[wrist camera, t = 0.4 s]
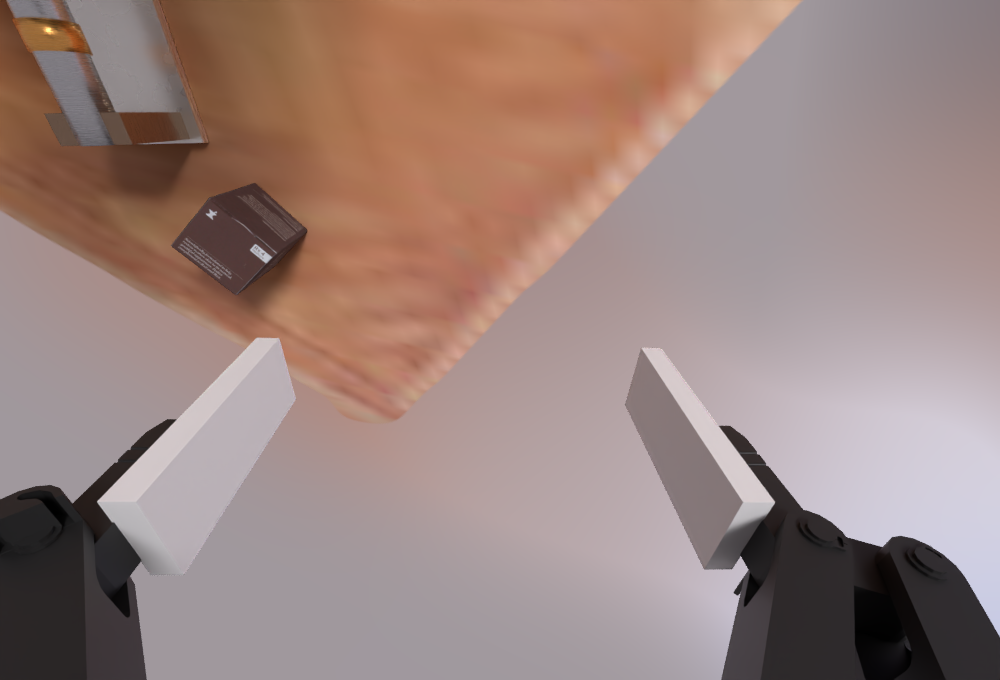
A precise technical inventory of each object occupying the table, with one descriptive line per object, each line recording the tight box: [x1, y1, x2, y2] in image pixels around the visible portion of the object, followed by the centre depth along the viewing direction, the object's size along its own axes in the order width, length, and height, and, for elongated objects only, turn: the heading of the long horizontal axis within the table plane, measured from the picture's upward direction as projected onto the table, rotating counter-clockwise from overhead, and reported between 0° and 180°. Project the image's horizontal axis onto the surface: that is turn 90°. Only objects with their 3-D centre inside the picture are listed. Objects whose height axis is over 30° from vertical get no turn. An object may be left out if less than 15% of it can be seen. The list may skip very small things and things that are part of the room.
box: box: [171, 183, 307, 295], centre depth 35 cm, size 6×6×7 cm
